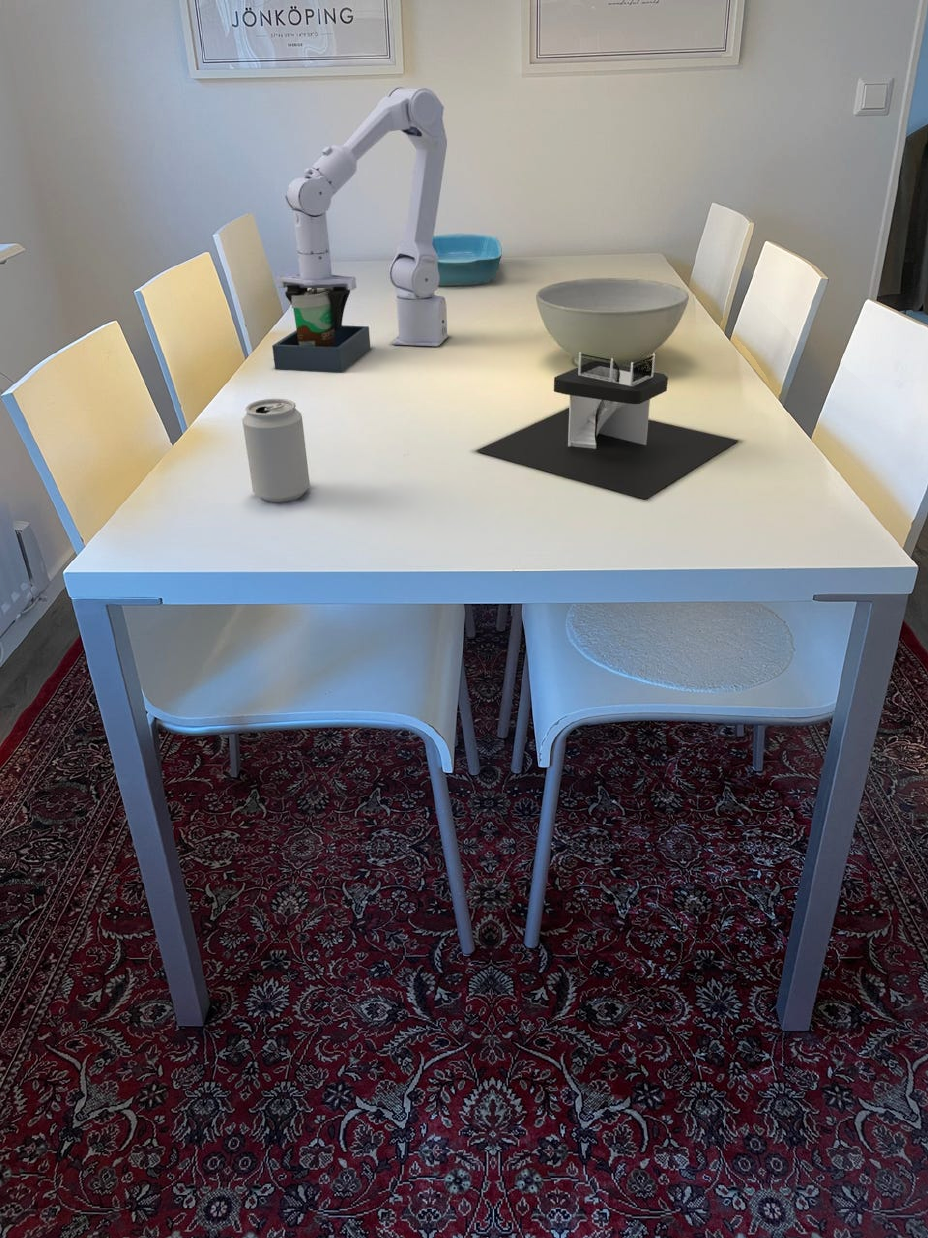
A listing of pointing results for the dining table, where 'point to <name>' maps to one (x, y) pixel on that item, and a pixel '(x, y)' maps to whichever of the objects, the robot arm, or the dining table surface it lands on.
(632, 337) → the decorative bowl
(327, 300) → the food container
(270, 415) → the can
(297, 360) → the tote
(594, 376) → the black-topped pedestal
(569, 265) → the dining table surface
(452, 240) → the casserole dish
